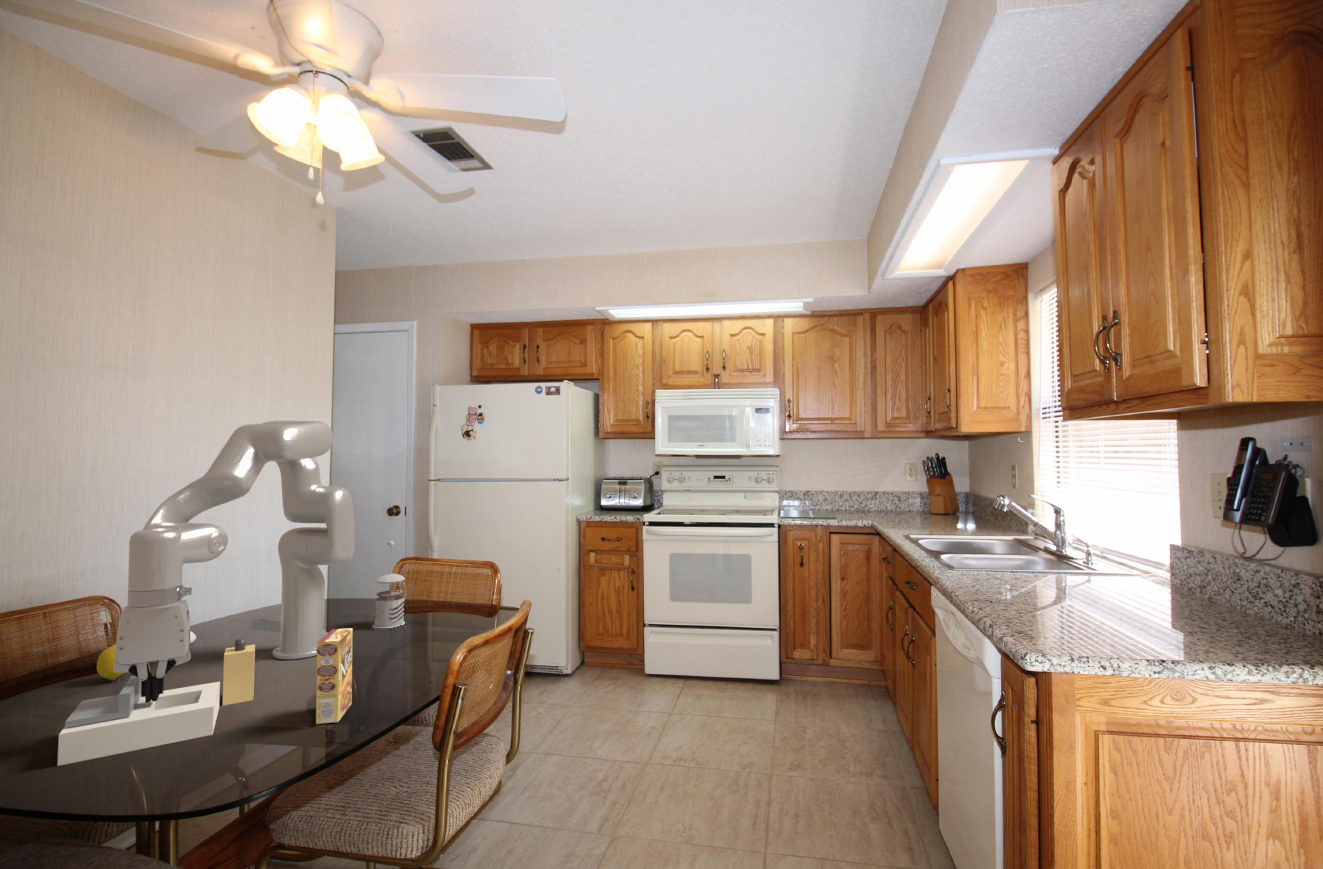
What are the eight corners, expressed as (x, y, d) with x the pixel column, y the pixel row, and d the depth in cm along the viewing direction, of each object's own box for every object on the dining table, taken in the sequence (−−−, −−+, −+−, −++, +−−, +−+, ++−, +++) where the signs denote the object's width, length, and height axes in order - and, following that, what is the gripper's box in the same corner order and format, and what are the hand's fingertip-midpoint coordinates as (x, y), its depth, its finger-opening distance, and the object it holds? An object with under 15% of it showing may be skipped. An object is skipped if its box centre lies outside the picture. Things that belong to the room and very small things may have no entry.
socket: (219, 706, 118) (220, 681, 118) (212, 734, 106) (213, 706, 106) (81, 732, 107) (82, 704, 107) (57, 765, 95) (58, 734, 96)
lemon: (109, 686, 129) (110, 649, 129) (89, 684, 130) (90, 647, 130) (136, 677, 134) (137, 641, 134) (117, 675, 135) (118, 639, 135)
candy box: (339, 723, 111) (340, 640, 112) (314, 725, 110) (316, 642, 111) (352, 703, 120) (354, 627, 120) (329, 705, 119) (331, 628, 119)
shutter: (140, 696, 110) (141, 674, 110) (129, 716, 102) (130, 692, 102) (81, 706, 106) (82, 683, 106) (65, 727, 97) (65, 703, 98)
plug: (253, 692, 126) (255, 634, 126) (252, 700, 121) (254, 641, 122) (224, 697, 123) (226, 638, 123) (222, 705, 119) (224, 645, 119)
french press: (363, 630, 171) (365, 542, 172) (388, 619, 182) (389, 537, 183) (394, 631, 169) (396, 543, 170) (417, 620, 180) (419, 538, 181)
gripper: (208, 588, 115) (206, 683, 115) (104, 598, 107) (101, 701, 106) (204, 596, 109) (202, 697, 108) (94, 607, 101) (90, 717, 100)
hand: (152, 699), depth 107 cm, fingers closed
